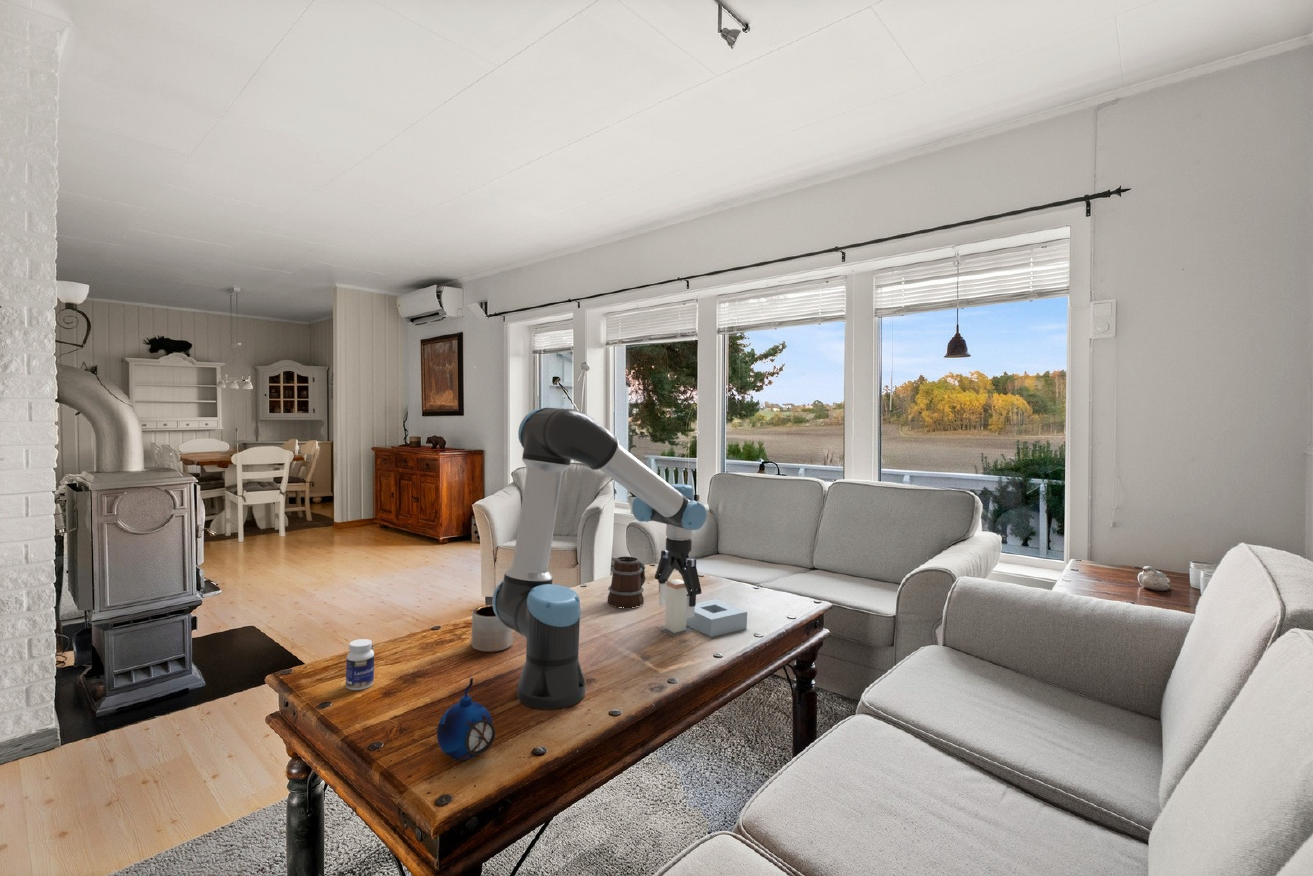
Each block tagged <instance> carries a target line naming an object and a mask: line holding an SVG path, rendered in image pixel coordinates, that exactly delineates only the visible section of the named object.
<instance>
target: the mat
mask: <svg viewBox="0 0 1313 876" xmlns="http://www.w3.org/2000/svg"><path fill="white" fill-rule="evenodd" d="M656 629H659V630H661V631H662V632H664V633H666V634H667V635H670V636H672V637H674V636H675V637H676V636H680V635H684V634H688V633H692V632H695V629H693V628H691V627H690V628H689V626H686V630H685V631H680V632H676V633H673V632H671V631H670V630H668V629H666V628H665V625H662V626H656Z"/></svg>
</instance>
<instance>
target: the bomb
mask: <svg viewBox="0 0 1313 876" xmlns="http://www.w3.org/2000/svg"><path fill="white" fill-rule="evenodd" d="M469 680H470V681H469V684H468V686H466V687H465V690H464V695H462V696H461V697H460V698H459V701H458V702H457V703H455V704H453V705H452V706H450V707H449V708H448V709H447V710H446V711H444V713H443V715H442V716H441V717H440V720H439V722H438V724H437V728H436V729H437V730H436V739H437V742H438V746H439V748H440V750H441V751H442V752H443V754H445V755H446V756H447V757H449V758H452V759H453V760H457V761H458V760H459V761H465V760H466V761H467V760H469V759H473V758H475V757H477V756H479V755H481V754H483V753H485V752H486V751H487V750H488V749H489V748H490V747H491V746H492V744H493V743H494V741H495V739H496V732H497V731H496V729H495V726H494V723H493V718H492V715H491V713H490V712H489V710H488V709H487V708H486V706H484V705H483V704H482V703H479V702H478V701H473V700H472V699H473V698H472V696H471V695H468V693H469V689H471V688H472V686H473V682H474V678H473V677H470V678H469Z"/></svg>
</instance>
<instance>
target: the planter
mask: <svg viewBox="0 0 1313 876" xmlns="http://www.w3.org/2000/svg"><path fill="white" fill-rule="evenodd" d="M471 613H472V614H471V615H472V617H471V621H472V622H471V642H470V643H471V647H472V649H474V650H476V651H477V652H480V653H482V652H483V653H497V652H502V651H505V650H507V649H509V648H511V646H512V645H513V643H514V630H513V629H511V628H509V627H507V626H505V625H504V624H503V623H502V622H501V621H500V620H499V619H498V618H497V616H496V615H495V613H494V610H493V605H492V604H485V605H482V606H478V607H476V608H474V609H473V610H472V612H471Z"/></svg>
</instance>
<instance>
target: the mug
mask: <svg viewBox="0 0 1313 876" xmlns="http://www.w3.org/2000/svg"><path fill="white" fill-rule="evenodd" d="M610 570H611V572H612V577H611V584H610V585H609V587H608V591H609V593H608V595H607V604H608V605H609V604H610V605H613V606H616V607H615V608H617V607H622V608H621V609H627V608H631V609H633V608H632V607H636V606H640V605H641V604H642V605H643V604H644V601H645V600H644V599H645V598H644V595H643V592H644V588H643V585H644V584H645V582H646V578H647V577H646V576H645V575H646V574H645V570H646V566H645V565H644V563H643V562H642V561H640V560H639V559H638V557H634V556H618V557H616V558H615V560H614V563H613V566H612V567H611V569H610ZM610 605H609V606H610ZM642 605H641V606H642ZM613 606H612V607H613ZM641 606H640V607H641ZM623 607H624V608H623ZM636 608H637V607H636Z"/></svg>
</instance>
